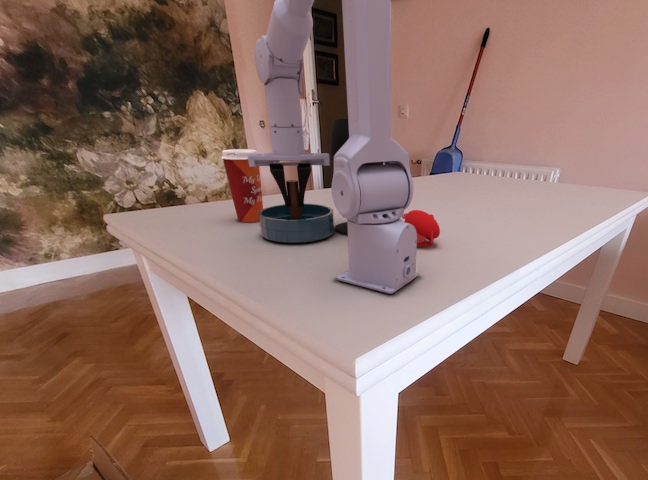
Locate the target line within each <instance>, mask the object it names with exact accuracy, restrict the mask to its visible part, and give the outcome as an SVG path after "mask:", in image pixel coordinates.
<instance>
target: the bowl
mask: <svg viewBox="0 0 648 480" xmlns="http://www.w3.org/2000/svg"><path fill="white" fill-rule="evenodd" d="M258 217H259V221H258V222H259V229H260V234H261V236H262V238H264V239H266V240H269V241H272V242H276V243H284V244H285V243H286V244H303V243H311V242H315V241H320V240H323V239H326V238H328V237H331V236H332V235H334V233H335V219H334V218H335V217H334V209H333V208H332V207H330V206H327V205H323V204H318V203H306V202H304V207H301V217H302V219H300V220H291V219H290V211H289V207H285V203H283V204H276V205H272V206H267V207H263V209H262V210H260V211H259V212H258Z"/></svg>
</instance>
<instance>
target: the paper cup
mask: <svg viewBox="0 0 648 480" xmlns="http://www.w3.org/2000/svg"><path fill="white" fill-rule="evenodd" d="M248 154H259V153H258V151H257V150H256V149H250V148H233V149H224V150H222V151H221V155H222V156H221V157H220V159H222V161H223V165H224V169H225V174H226V177H227V182H228V185H229V190H230V194H231V198H232V202H233V205H234V209H235V213H236V218H237V221H239V222H241V223H257V222H259V217H258V212H259V211H260V210H262V209H264V203H263V202H264V201H263V191H262V182H261V181H262V179H261V171H260V166H256V167H249V162H248Z"/></svg>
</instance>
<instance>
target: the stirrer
mask: <svg viewBox="0 0 648 480" xmlns="http://www.w3.org/2000/svg"><path fill="white" fill-rule="evenodd" d="M285 183H286V190H287V195H288V201H289V211H290V219H291V220H300V219H302V217H301V207H300V197H299V182H298V179H297V180H296V179H289V180H285Z"/></svg>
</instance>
